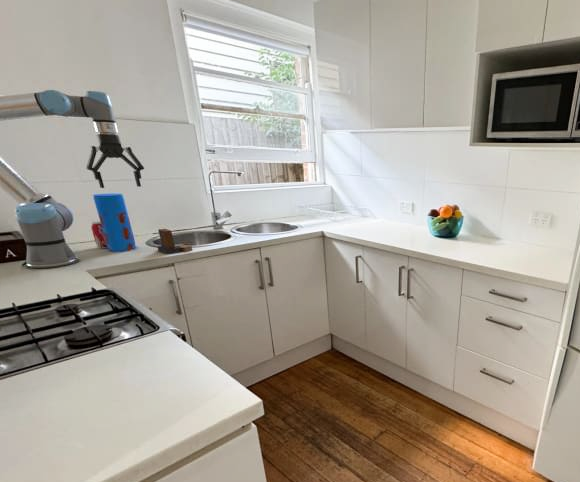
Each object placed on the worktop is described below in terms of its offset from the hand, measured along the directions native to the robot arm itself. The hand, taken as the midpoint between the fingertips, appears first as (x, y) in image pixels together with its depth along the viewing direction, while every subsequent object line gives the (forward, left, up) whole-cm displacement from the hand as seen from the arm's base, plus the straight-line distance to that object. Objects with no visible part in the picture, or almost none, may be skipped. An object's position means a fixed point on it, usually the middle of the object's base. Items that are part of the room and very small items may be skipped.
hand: (121, 187), depth 167 cm
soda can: (-7, +19, -29) cm, 35 cm away
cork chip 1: (+15, -9, -29) cm, 33 cm away
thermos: (-3, +10, -29) cm, 31 cm away
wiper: (+10, -10, -29) cm, 32 cm away
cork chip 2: (+15, -14, -29) cm, 35 cm away
